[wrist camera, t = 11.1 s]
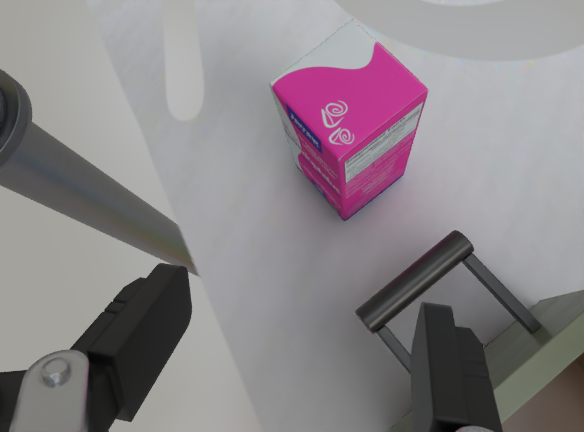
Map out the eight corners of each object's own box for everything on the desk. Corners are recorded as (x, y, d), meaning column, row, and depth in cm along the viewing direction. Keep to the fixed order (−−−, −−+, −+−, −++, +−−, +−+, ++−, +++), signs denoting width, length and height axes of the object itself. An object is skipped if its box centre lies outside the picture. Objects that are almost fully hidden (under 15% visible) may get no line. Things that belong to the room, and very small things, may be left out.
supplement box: (293, 168, 33) (264, 79, 22) (354, 121, 33) (356, 10, 22) (343, 225, 31) (338, 160, 20) (406, 175, 31) (436, 84, 20)
